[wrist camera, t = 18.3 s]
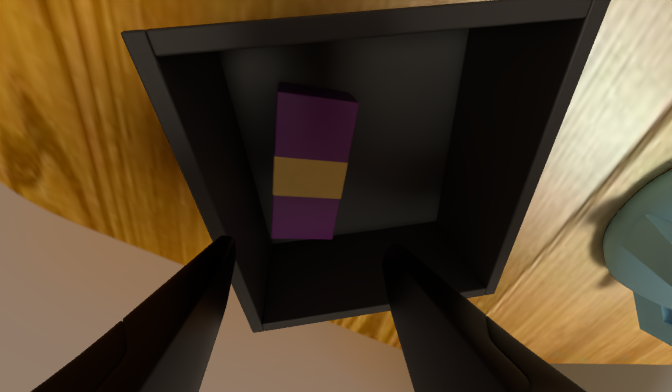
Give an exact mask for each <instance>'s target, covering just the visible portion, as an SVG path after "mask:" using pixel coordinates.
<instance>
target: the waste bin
mask: <svg viewBox="0 0 672 392" xmlns="http://www.w3.org/2000/svg"><path fill="white" fill-rule="evenodd" d="M610 1H611V0H492V1H480V2H468V3H456V4H444V5H432V6H420V7H408V8H396V9H384V10H371V11H359V12H347V13H335V14H323V15H311V16H299V17H287V18H275V19H263V20H251V21H239V22H227V23H215V24H203V25H191V26H179V27H167V28H155V29H148V30H131V31H123V32H121V35H122V38H123V40H124V42H125V44H126V47H127V49H128V51H129V53H130V56H131V58H132V60H133V63H134V65H135V67H136V69H137V72H138V74H139V76H140V78H141V81H142V83H143V85H144V87H145V90H146V92H147V94H148V96H149V99H150V101H151V103H152V105H153V108H154V110H155V112H156V114H157V117H158V119H159V121H160V123H161V126H162V128H163V130H164V133H165V135H166V137H167V139H168V142H169V144H170V146H171V148H172V151H173V153H174V155H175V157H176V160H177V162H178V164H179V166H180V169H181V171H182V173H183V175H184V178H185V180H186V182H187V184H188V187H189V189H190V191H191V193H192V196H193V198H194V200H195V203H196V205H197V207H198V209H199V212H200V214H201V216H202V218H203V221H204V223H205V225H206V227H207V230H208V232H209V234H210V236H211V239H212V241H213V242H214V241H215V240H216V239H217V238H218V237H220V236H222V235H225V236H234V237H235V247H236V260H235V265H234V270H233V276H232V281H231V284H232V286H233V288H234V291H235V293H236V295H237V297H238V300H239V302H240V304H241V306H242V309H243V311H244V313H245V315H246V318H247V320H248V322H249V324H250V327H251V329H252V331H253V332H254V333H255V332H262V331H264V330H265V331H267V330H274V329H280V328H286V327H292V326H298V325H304V324H311V323H317V322H323V321H329V320H336V319H342V318H348V317H354V316H360V315H366V314H372V313H379V312H385V311H391V310H390V306H389V301H388V296H387V290H386V285H385V279H384V274H383V268H382V260H383V257H384V254H385V251H386V248H387V246H388V244H390V243H397V244H401V245H402V246H404V247H405V248H406V249H407V250H408V251H410V252H411V253H412V254H413V255H414V256H416V257H417V258H418V259H419V260H420V261H422V262H423V263H424V264H425V265H426V266H428V267H429V268H430V269H431V270H432V271H434V272H435V273H436V274H437V275H439V276H440V277H441V278H442V279H443V280H445V281H446V282H447V283H448V284H449V285H451V286H452V287H453V288H454V289H455V290H457V291H458V292H459V293H460V294H461V295H463V296H464V297H465V298H471V297H477V296H483V295H489V294H494V293H495V290H496V287H497V285H498V282H499V280H500V277H501V275H502V272H503V270H504V267H505V265H506V262H507V260H508V257H509V255H510V252H511V250H512V247H513V245H514V242H515V240H516V237H517V235H518V232H519V230H520V227H521V225H522V222H523V220H524V217H525V215H526V212H527V210H528V207H529V205H530V202H531V199H532V197H533V194H534V192H535V189H536V187H537V184H538V182H539V179H540V177H541V174H542V172H543V169H544V167H545V164H546V162H547V159H548V157H549V154H550V152H551V149H552V147H553V144H554V142H555V139H556V137H557V134H558V132H559V129H560V127H561V124H562V122H563V119H564V117H565V114H566V112H567V109H568V106H569V104H570V101H571V99H572V96H573V94H574V91H575V89H576V86H577V84H578V81H579V79H580V76H581V74H582V71H583V69H584V66H585V64H586V61H587V59H588V56H589V54H590V51H591V49H592V46H593V44H594V41H595V39H596V36H597V34H598V31H599V29H600V26H601V24H602V21H603V18H604V16H605V13H606V11H607V8H608V6H609V3H610ZM279 82H283V83H290V84H297V85H304V86H311V87H317V88H324V89H331V90H338V91H344V92H349V93H350V94H351V95H352V96H353V97H354V98H355V99H356V100H357V101H358V102H359V108H358V113H357V118H356V123H355V128H354V133H353V138H352V143H351V148H350V153H349V158H348V166H347V171H346V176H345V181H344V186H343V191H342V196H341V199H340V204H339V209H338V214H337V219H336V224H335V229H334V234H333V238H332V239H280V238H271V224H272V199H273V194H272V189H273V163H274V150H275V125H276V100H277V89H278V84H279Z"/></svg>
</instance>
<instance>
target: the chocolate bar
mask: <svg viewBox="0 0 672 392" xmlns="http://www.w3.org/2000/svg"><path fill="white" fill-rule="evenodd" d="M358 108H359V102H358V101H357V100H356V99H355V98H354V97H353V96H352V95H351V94H350V93H349V92H344V91H338V90H331V89H324V88H317V87H311V86H304V85H297V84H290V83H283V82H279V84H278V89H277V100H276V125H275V150H274V163H273V189H272V194H273V199H272V224H271V238H280V239H332V238H333V234H334V229H335V224H336V219H337V214H338V209H339V204H340V199H341V196H342V191H343V186H344V181H345V176H346V171H347V166H348V158H349V153H350V148H351V143H352V138H353V133H354V128H355V123H356V118H357V113H358Z"/></svg>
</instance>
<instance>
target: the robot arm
mask: <svg viewBox="0 0 672 392" xmlns="http://www.w3.org/2000/svg"><path fill="white" fill-rule="evenodd" d="M235 260H236V247H235V237H234V236H225V235H222V236H220V237H218V238H217V239H216V240H215V241H214V242H213V243H211V244H210V245H209V246H208V247H207V248H206V249H204V250H203V251H202V252H201V253H200V254H198V255H197V256H196V257H195V258H194V259H193V260H191V261H190V262H189V263H188V264H187V265H186V266H184V267H183V268H182V269H181V270H180V271H179V272H177V273H176V274H175V275H174V276H173V277H171V279H169V280H168V281H167V282H166V283H164V284H163V285H162V286H161V287H160V288H159V289H158V290H156V291H155V292H154V293H153V294H152V295H150V296H149V297H148V298H147V299H146V300H145V301H143V302H142V303H141V304H140V305H139V306H137V307H136V308H135V309H134V310H133V311H132V312H130V313H129V314H128V315H127V316H126V317H125V318H123V321H120V322H118V324H116V325H115V326H114V327H113V328H111V329H110V330H109V331H108V332H107V333H105V334H104V335H103V336H102V337H101V338H100V339H98V340H97V341H96V342H95V343H93V344H92V345H91V346H90V347H88V348H87V349H86V350H85V351H84V352H82V353H81V354H80V355H79V356H77V357H76V358H75V359H74V360H72V361H71V362H69V363H68V364H67V365H66V366H64V367H63V368H62V369H60V370H59V371H58V372H56V373H55V374H54V375H52V376H51V377H50V378H49V379H47V380H46V381H45V382H43V383H42V384H41V385H39V386H38V387H37V388H35V389H34V390H32V391H31V392H199V389H200V386H201V383H202V380H203V377H204V373H205V371H206V367H207V364H208V361H209V358H210V355H211V352H212V349H213V346H214V343H215V340H216V337H217V334H218V331H219V327H220V324H221V322H222V319H223V315H224V312H225V309H226V305H227V301H228V296H229V291H230V286H231V281H232V276H233V270H234V265H235ZM382 268H383V274H384V279H385V285H386V290H387V296H388V301H389V306H390V310H391V313H392V317H393V320H394V323H395V327H396V330H397V334H398V337H399V340H400V344H401V347H402V351H403V354H404V357H405V360H406V363H407V367H408V370H409V374H410V377H411V381H412V384H413V388H414V391H415V392H586V391H585V390H583V389H582V388H581V387H579V386H578V385H577V384H575V383H574V382H572V381H571V380H570V379H568V378H567V377H566V376H564V375H563V374H561V373H560V372H559V371H558V370H556V369H555V368H553V367H552V366H551V365H550V364H548V363H547V362H545V361H544V360H543V359H541V358H540V357H539V356H537V355H536V354H535V353H533V352H532V351H531V350H529V349H528V348H527V347H525V346H524V345H523V344H522V343H520V342H519V341H518V340H516V339H515V338H514V337H513V336H511V335H510V334H509V333H508V332H506V331H505V330H504V329H503V328H501V327H500V326H499V325H498V324H496V323H495V322H494V321H493V320H492V319H490V318H489V317H488V316H486V315H485V314H484V313H483V312H482V311H481V310H479V309H478V308H477V307H476V306H475V305H473V304H472V303H471V302H470V301H469V300H467V299H466V298H465V297H464V296H463V295H461V294H460V293H459V292H458V291H457V290H455V289H454V288H453V287H452V286H451V285H449V284H448V283H447V282H446V281H445V280H443V279H442V278H441V277H440V276H439V275H437V274H436V273H435V272H434V271H432V270H431V269H430V268H429V267H428V266H426V265H425V264H424V263H423V262H422V261H420V260H419V259H418V258H417V257H416V256H414V255H413V254H412V253H411V252H410V251H408V250H407V249H406V248H405V247H404V246H402V245H401V244H397V243H390V244H388V246H387V248H386V251H385V254H384V257H383V260H382Z"/></svg>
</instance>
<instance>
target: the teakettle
mask: <svg viewBox="0 0 672 392" xmlns="http://www.w3.org/2000/svg"><path fill="white" fill-rule="evenodd" d="M603 250H604V257H605V262H606V266H607V268H608V271H609V272H610V273H611V275H612V276H613V277H614V279H616V280H617V281H618V282H620V283H621V284H623V285H624V286H626V287H627V288H629V289H630V290H632V291H633V294H634V299H635V304H636V310H637V315H638V320H639V326H640V329H642V330H643V331H645V332H647V333H649V334H651V335H652V336H654V337H656V338H658V339H660V340H662V341H663V342H665V343H667V344H669V345H671V346H672V169H670V170H669V171H667V172H665V173H663V174H662V175H660V176H659V177H657V178H656V179H654V180H653V181H651V182H650V183H649V184H647V185H646V186H645V187H643V188H642V189H641V190H640V191H638V192H637V193H636V194H635V195H634V196H633V197H632V198H631V199H630V200H629V201H628V202H627V203H626V204H625V205H624V206H623V207H622V208H621V209H620V210H619V211H618V213H617V214H616V215H615V217H614V218H613V219H612V221H611V222H610V224H609V226H608V228H607V230H606V232H605V235H604V238H603Z"/></svg>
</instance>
